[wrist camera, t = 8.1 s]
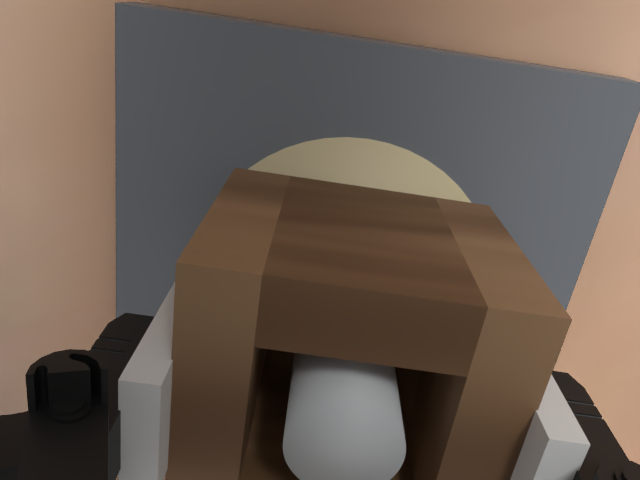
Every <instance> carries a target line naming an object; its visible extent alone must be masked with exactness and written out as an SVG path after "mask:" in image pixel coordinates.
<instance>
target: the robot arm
mask: <svg viewBox="0 0 640 480" xmlns="http://www.w3.org/2000/svg"><path fill="white" fill-rule="evenodd" d="M174 294H175V282H174V284H173V286H172V287H171V289H170V291H169V293H168V294H167V296H166V298H165V300H164V301H163V303H162V305H161V307H160V308H159V310H158V312H157V314H156V315H155V317H154V316H147V315H139V314H132V313H124V314H123V315H121V316H119V317H118V318H116V319H114V320H113V321H111V322H110V323H108V325H107V326H106V328H105V329H104V330H103V332H102V333H101V335H100V336H99V339H97V340H96V342H95V343H94V345H93V346H92V349H91V350H89V351H86V350H72V349H70V350H64V351H58V352H54V353H51V354H49V355H46V356H44V357H41V358H40V359H39V360H37V361H36V362H35V363H33V364H32V365H31V366H30V368H29V370H28V371H27V373H26V387H27V399H28V411H26V412H23V413H17V414H11V415H1V416H0V480H116V478H117V475H118V480H164V477H165V474H166V472H167V469H168V451H169V430H170V410H171V389H172V368H173V360H171V355H172V335H173V314H174ZM510 480H640V465H639V464H637V463H635V462H633V461H629V459H628V458H627V456H626V455H625V453H624V451H623V450H622V448H621V447H620V445H619V443H618V442H617V440H616V438H615V437H614V435H613V434H612V432H611V430H610V429H609V427H608V425H607V424H606V422H605V421H604V420H603V419H602V416H601V414H600V413H599V411H598V409H597V408H596V407H595V406H594V403H593V401H592V400H591V398H590V396H589V395H588V393H587V392H586V390H585V388H584V387H583V386H582V385H580V384H579V383H578V382H577V381H576V380H575V379H574V378H572V377H571V376H570V375H569V374H568V373H564V372H557V371H553V372H552V374H551V377H550V380H549V382H548V385H547V388H546V390H545V393H544V396H543V398H542V401H541V404H540V406H539V409H538V410H536V411H535V414H534V417H533V419H532V422H531V425H530V427H529V430H528V433H527V435H526V438H525V441H524V444H523V446H522V449H521V452H520V454H519V457H518V460H517V463H516V465H515V468H514V471H513V473H512V476H511V479H510Z"/></svg>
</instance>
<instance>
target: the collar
mask: <svg viewBox="0 0 640 480" xmlns="http://www.w3.org/2000/svg"><path fill="white" fill-rule="evenodd" d="M571 321H572V319H571V318H570V316H569V315H568V313H567V312H566V311H565V309H564V308H563V307H562V305H561V304H560V302H559V301H558V300H557V298H556V297H555V296H554V294H553V293H552V291H551V290H550V289H549V287H548V286H547V285H546V283H545V282H544V280H543V279H542V278H541V276H540V275H539V274H538V272H537V271H536V269H535V268H534V267H533V265H532V264H531V263H530V261H529V260H528V258H527V257H526V256H525V254H524V253H523V252H522V250H521V249H520V247H519V246H518V245H517V243H516V242H515V241H514V239H513V238H512V236H511V235H510V234H509V232H508V231H507V230H506V228H505V227H504V225H503V224H502V223H501V221H500V220H499V219H498V217H497V216H496V214H495V213H494V212H493V210H492V209H491V208H490V206H489V205H483V204H476V203H469V202H463V201H456V200H449V199H443V198H436V197H429V196H422V195H416V194H409V193H402V192H396V191H389V190H382V189H376V188H369V187H362V186H355V185H349V184H342V183H335V182H329V181H322V180H315V179H309V178H302V177H295V176H288V175H282V174H275V173H268V172H262V171H255V170H248V169H242V168H235V169H234V170H233V172H232V173H231V175H230V177H229V178H228V180H227V181H226V183H225V185H224V186H223V188H222V189H221V191H220V193H219V194H218V196H217V197H216V199H215V201H214V202H213V204H212V205H211V207H210V209H209V210H208V212H207V214H206V215H205V217H204V218H203V220H202V222H201V223H200V225H199V226H198V228H197V230H196V231H195V233H194V234H193V236H192V238H191V239H190V241H189V242H188V244H187V246H186V247H185V249H184V250H183V252H182V254H181V255H180V257H179V258H178V260H177V262H176V274H175V294H174V314H173V335H172V355H171V360H173V368H172V389H171V410H170V430H169V451H168V469H167V472H166V477H165V480H300V479H299V478H298V477H296V476H295V474H294V473H293V472H292V471H291V470H290V468H289V467H288V465H287V463H286V461H285V458H284V454H283V437H284V430H285V422H286V414H287V406H288V399H289V391H290V383H291V375H292V367H293V360H294V353H300V354H307V355H314V356H321V357H328V358H335V359H343V360H350V361H357V362H364V363H371V364H378V365H385V366H392V367H395V372H396V379H397V386H398V393H399V400H400V406H401V413H402V420H403V427H404V434H405V441H406V455H405V459H404V462H403V464H402V466H401V468H400V469H399V471H398V472H397V473H396V474H395V475H394V476H393V477H392V478H391V479H390V480H510V479H511V476H512V473H513V471H514V468H515V465H516V463H517V460H518V457H519V454H520V452H521V449H522V446H523V444H524V441H525V438H526V435H527V433H528V430H529V427H530V425H531V422H532V419H533V417H534V414H535V411H536V410H538V409H539V406H540V404H541V401H542V398H543V396H544V393H545V390H546V388H547V385H548V382H549V380H550V377H551V374H552V372H553V369H554V366H555V363H556V361H557V358H558V355H559V353H560V350H561V347H562V345H563V342H564V339H565V337H566V334H567V331H568V329H569V326H570V323H571Z"/></svg>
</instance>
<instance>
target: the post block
mask: <svg viewBox="0 0 640 480" xmlns="http://www.w3.org/2000/svg"><path fill="white" fill-rule="evenodd" d="M115 82H116V318H118V317H119V316H121V315H123V314H124V313H132V314H139V315H147V316H154V317H155V315H156V314H157V312H158V310H159V308H160V307H161V305H162V303H163V301H164V300H165V298H166V296H167V294H168V293H169V291H170V289H171V287H172V286H173V284H174V282H175V274H176V262H177V260H178V258H179V257H180V255H181V254H182V252H183V250H184V249H185V247H186V246H187V244H188V242H189V241H190V239H191V238H192V236H193V234H194V233H195V231H196V230H197V228H198V226H199V225H200V223H201V222H202V220H203V218H204V217H205V215H206V214H207V212H208V210H209V209H210V207H211V205H212V204H213V202H214V201H215V199H216V197H217V196H218V194H219V193H220V191H221V189H222V188H223V186H224V185H225V183H226V181H227V180H228V178H229V177H230V175H231V173H232V172H233V170H234V169H235V168H242V169H248V170H255V171H262V172H268V173H275V174H282V175H288V176H295V177H302V178H309V179H315V180H322V181H329V182H335V183H342V184H349V185H355V186H362V187H369V188H376V189H382V190H389V191H396V192H402V193H409V194H416V195H422V196H429V197H436V198H443V199H449V200H456V201H463V202H469V203H476V204H483V205H489V206H490V208H491V209H492V210H493V212H494V213H495V214H496V216H497V217H498V219H499V220H500V221H501V223H502V224H503V225H504V227H505V228H506V230H507V231H508V232H509V234H510V235H511V236H512V238H513V239H514V241H515V242H516V243H517V245H518V246H519V247H520V249H521V250H522V252H523V253H524V254H525V256H526V257H527V258H528V260H529V261H530V263H531V264H532V265H533V267H534V268H535V269H536V271H537V272H538V274H539V275H540V276H541V278H542V279H543V280H544V282H545V283H546V285H547V286H548V287H549V289H550V290H551V291H552V293H553V294H554V296H555V297H556V298H557V300H558V301H559V302H560V304H561V305H562V307H563V308H564V309H565V311H566V309H567V306H568V303H569V301H570V298H571V295H572V292H573V290H574V287H575V284H576V282H577V279H578V276H579V274H580V271H581V268H582V265H583V263H584V260H585V257H586V255H587V252H588V249H589V246H590V244H591V241H592V238H593V236H594V233H595V230H596V227H597V225H598V222H599V219H600V217H601V214H602V211H603V208H604V206H605V203H606V200H607V198H608V195H609V192H610V189H611V187H612V184H613V181H614V179H615V176H616V173H617V170H618V168H619V165H620V162H621V160H622V157H623V154H624V152H625V149H626V146H627V143H628V141H629V138H630V135H631V133H632V130H633V127H634V124H635V122H636V119H637V116H638V114H639V111H640V82H637V81H633V80H630V79H626V78H623V77H617V76H610V75H604V74H597V73H591V72H584V71H578V70H572V69H565V68H559V67H552V66H546V65H539V64H533V63H526V62H520V61H513V60H507V59H500V58H494V57H488V56H481V55H475V54H468V53H462V52H455V51H449V50H442V49H436V48H429V47H423V46H416V45H410V44H404V43H397V42H391V41H384V40H378V39H371V38H365V37H358V36H352V35H345V34H339V33H332V32H326V31H319V30H313V29H307V28H300V27H294V26H287V25H281V24H274V23H268V22H261V21H255V20H248V19H242V18H235V17H229V16H223V15H216V14H210V13H203V12H197V11H190V10H184V9H177V8H171V7H164V6H158V5H151V4H145V3H139V2H119V3H115ZM283 454H284V458H285V461H286V463H287V465H288V467H289V468H290V470H291V471H292V472H293V473H294V474H295V476H296V477H298V478H299V479H300V480H390V479H391V478H392V477H393V476H394V475H395V474H396V473H397V472H398V471H399V469H400V468H401V466H402V464H403V462H404V459H405V455H406V441H405V434H404V427H403V420H402V413H401V406H400V400H399V393H398V386H397V379H396V372H395V367H392V366H385V365H378V364H371V363H364V362H357V361H350V360H343V359H335V358H328V357H321V356H314V355H307V354H300V353H294V360H293V367H292V375H291V383H290V391H289V399H288V406H287V414H286V422H285V430H284V437H283Z"/></svg>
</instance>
